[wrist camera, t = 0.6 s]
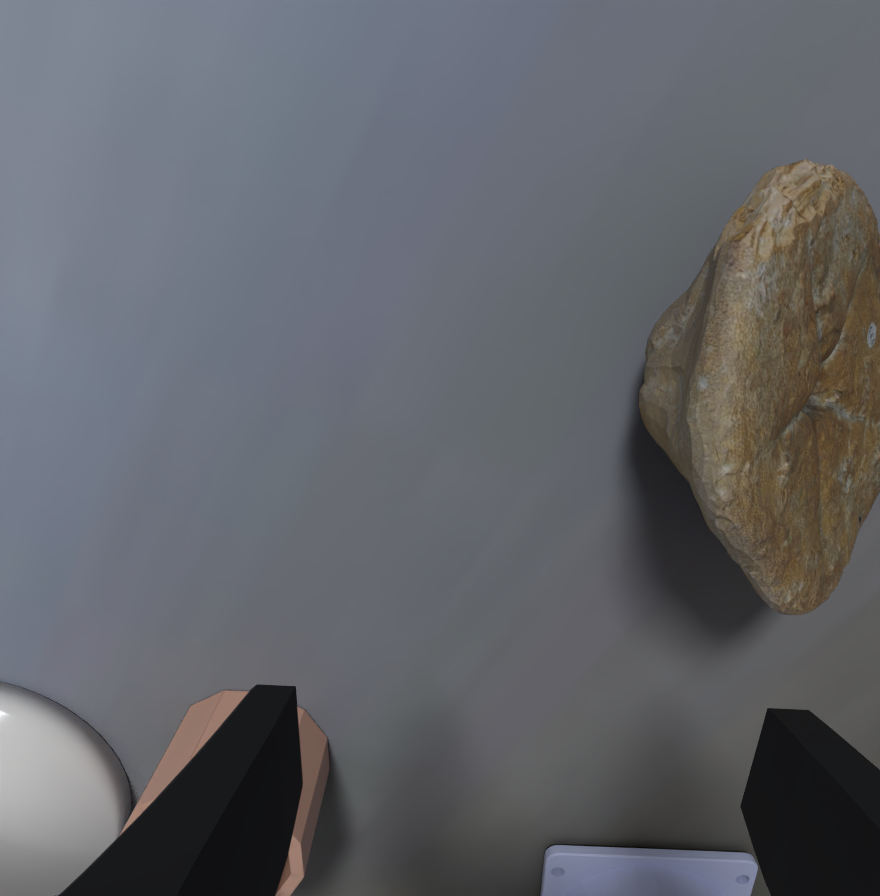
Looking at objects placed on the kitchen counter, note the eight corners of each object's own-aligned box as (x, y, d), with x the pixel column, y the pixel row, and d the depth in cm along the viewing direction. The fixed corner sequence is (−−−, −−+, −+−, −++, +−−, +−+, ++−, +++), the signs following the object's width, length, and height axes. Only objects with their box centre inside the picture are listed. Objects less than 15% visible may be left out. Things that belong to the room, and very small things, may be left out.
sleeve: (332, 808, 24) (308, 919, 20) (188, 802, 24) (138, 912, 20) (324, 693, 22) (295, 794, 18) (167, 688, 22) (106, 787, 18)
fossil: (823, 693, 14) (688, 337, 9) (650, 632, 17) (484, 347, 12) (932, 422, 18) (878, 63, 13) (771, 415, 21) (679, 129, 16)
